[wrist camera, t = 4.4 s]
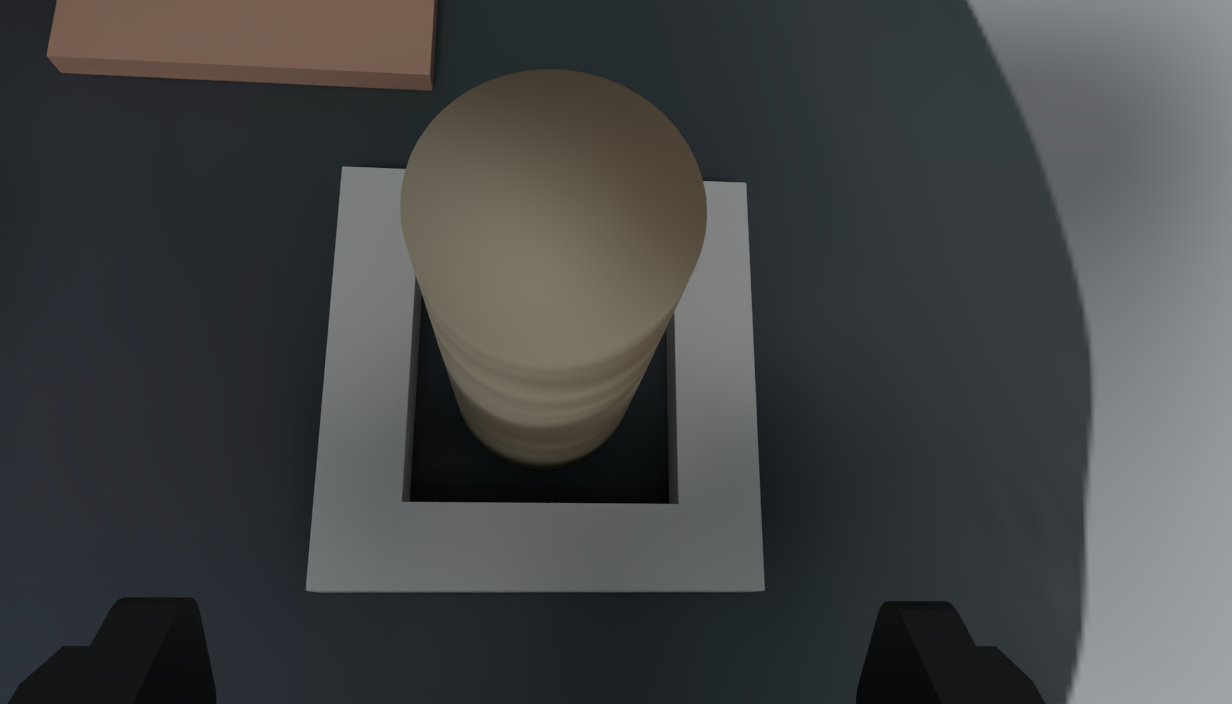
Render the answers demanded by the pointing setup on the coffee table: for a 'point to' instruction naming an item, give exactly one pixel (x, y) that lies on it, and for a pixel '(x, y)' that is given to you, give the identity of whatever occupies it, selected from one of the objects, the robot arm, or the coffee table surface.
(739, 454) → the pocket block
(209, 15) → the terracotta tile
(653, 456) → the coffee table surface
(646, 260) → the birch peg
